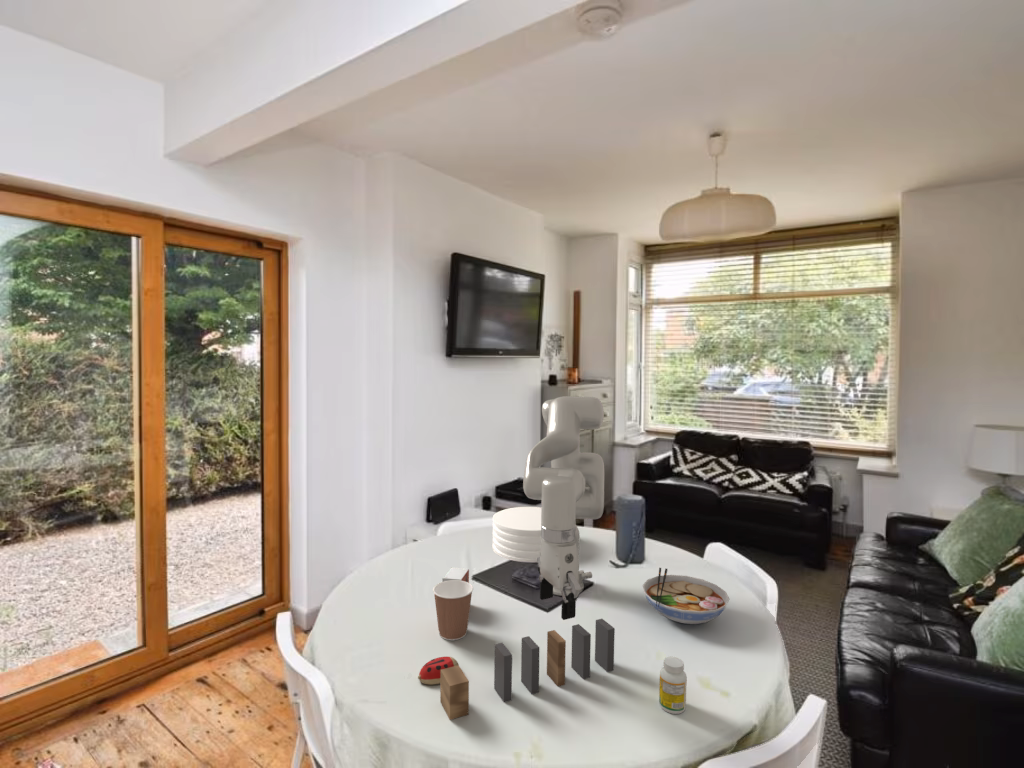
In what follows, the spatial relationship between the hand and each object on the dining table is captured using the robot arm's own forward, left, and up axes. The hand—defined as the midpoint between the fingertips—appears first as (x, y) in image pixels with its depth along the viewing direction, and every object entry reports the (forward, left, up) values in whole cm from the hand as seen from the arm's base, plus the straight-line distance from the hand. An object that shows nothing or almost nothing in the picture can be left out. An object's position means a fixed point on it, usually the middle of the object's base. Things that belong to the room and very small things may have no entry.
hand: (557, 607), depth 122 cm
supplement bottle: (-17, +18, -17) cm, 30 cm away
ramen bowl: (-46, -10, -17) cm, 50 cm away
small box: (+10, -40, -17) cm, 44 cm away
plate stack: (-31, -74, -17) cm, 82 cm away
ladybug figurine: (+24, -12, -17) cm, 31 cm away
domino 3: (0, 0, -16) cm, 16 cm away
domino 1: (+13, 0, -16) cm, 21 cm away
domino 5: (-13, 0, -16) cm, 21 cm away
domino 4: (-6, 0, -16) cm, 17 cm away
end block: (+24, 0, -16) cm, 29 cm away
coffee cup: (+15, -28, -17) cm, 35 cm away
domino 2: (+7, 0, -16) cm, 18 cm away
